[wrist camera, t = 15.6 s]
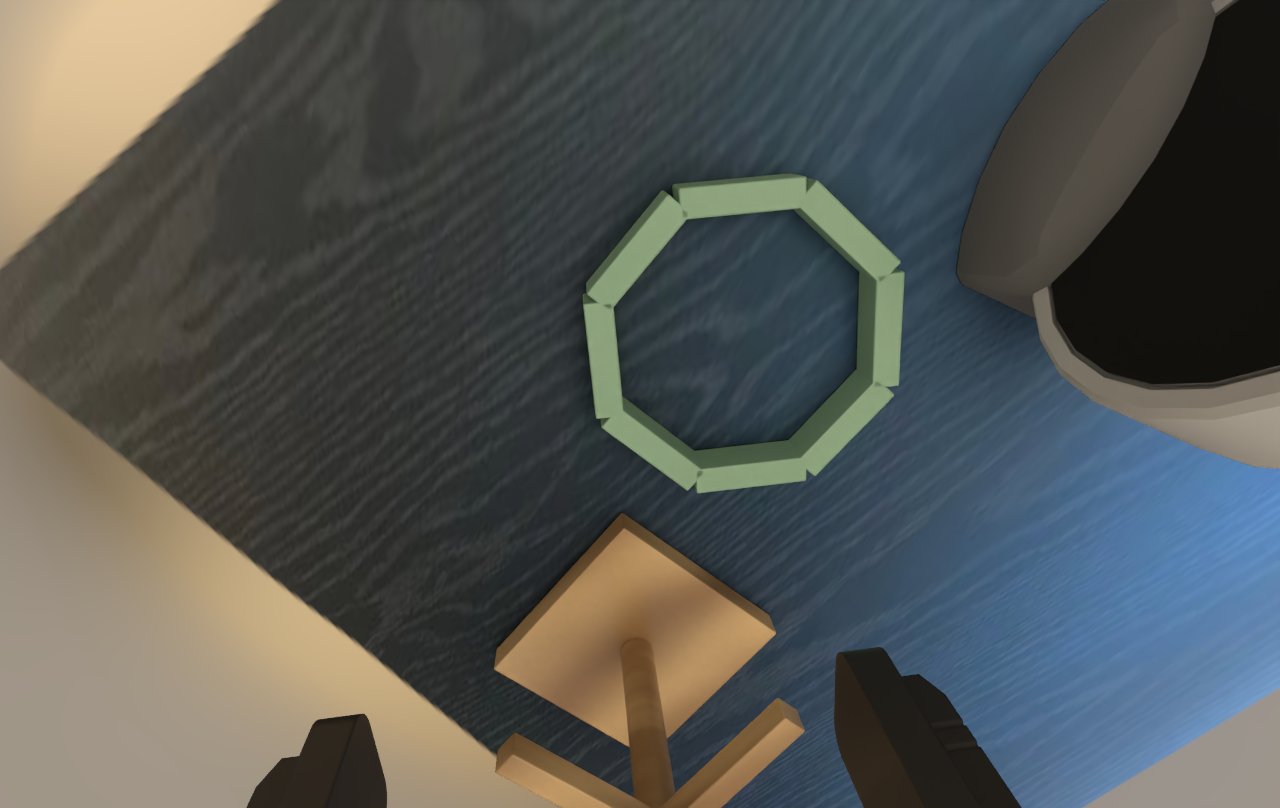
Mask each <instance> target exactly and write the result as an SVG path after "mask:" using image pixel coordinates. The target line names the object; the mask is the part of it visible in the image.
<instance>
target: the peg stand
mask: <svg viewBox="0 0 1280 808" xmlns="http://www.w3.org/2000/svg"><path fill="white" fill-rule="evenodd" d="M775 634H776V631H775V629H774V626H773V624H772V621H771V619H770V616H769V615H768V614H767V613H765V612H764V611H762V610H761V609H760V608H758V607H757V606H755V605H754V604H752V603H751V602H750V601H748V600H747V599H745V598H744V597H742V596H741V595H740V594H738V593H737V592H735V591H734V590H732V589H731V588H729V587H728V586H727V585H725V584H724V583H722V582H721V581H719V580H718V579H717V578H715V577H714V576H712V575H711V574H709V573H708V572H707V571H705V570H704V569H702V568H701V567H699V566H698V565H697V564H695V563H694V562H692V561H691V560H689V559H688V558H687V557H685V556H684V555H682V554H681V553H679V552H678V551H676V550H675V549H674V548H672V547H671V546H669V545H668V544H666V543H665V542H664V541H662V540H661V539H659V538H658V537H656V536H655V535H654V534H652V533H651V532H649V531H648V530H646V529H645V528H644V527H642V526H641V525H639V524H638V523H636V522H635V521H634V520H632V519H631V518H629V517H628V516H626V515H625V514H624V513H621V514H620V515H619V516H618V517H617V518H616V519H615V521H614V522H613V523H612V524H611V525H610V526H609V527H608V528H607V529H606V530H605V531H604V533H603V534H602V535H601V536H600V537H599V538H598V539H597V540H596V541H595V542H594V543H593V545H592V546H591V547H590V548H589V549H588V550H587V551H586V552H585V553H584V554H583V556H582V557H581V558H580V559H579V560H578V561H577V562H576V563H575V564H574V565H573V566H572V568H571V569H570V570H569V571H568V572H567V573H566V574H565V575H564V576H563V577H562V578H561V580H560V581H559V582H558V583H557V584H556V585H555V586H554V587H553V588H552V589H551V590H550V592H549V593H548V594H547V595H546V596H545V597H544V598H543V599H542V600H541V601H540V602H539V604H538V605H537V606H536V607H535V608H534V609H533V610H532V611H531V612H530V613H529V614H528V616H527V617H526V618H525V619H524V620H523V621H522V622H521V623H520V624H519V625H518V627H517V628H516V629H515V630H514V631H513V632H512V633H511V634H510V635H509V636H508V637H507V639H506V640H505V641H504V642H503V643H502V644H501V645H500V646H499V647H498V648H497V651H496V658H495V665H494V669H495V670H496V671H498V672H500V673H501V674H503V675H505V676H507V677H508V678H510V679H512V680H513V681H515V682H517V683H519V684H520V685H522V686H524V687H526V688H527V689H529V690H531V691H533V692H534V693H536V694H538V695H540V696H541V697H543V698H545V699H546V700H548V701H550V702H552V703H553V704H555V705H557V706H559V707H560V708H562V709H564V710H566V711H567V712H569V713H571V714H573V715H574V716H576V717H578V718H580V719H581V720H583V721H585V722H586V723H588V724H590V725H592V726H593V727H595V728H597V729H599V730H600V731H602V732H604V733H606V734H607V735H609V736H611V737H613V738H614V739H616V740H618V741H619V742H621V743H623V744H625V745H626V746H628V747H630V757H631V768H632V778H633V789H634V798H633V797H632V796H630V795H628V794H626V793H624V792H623V791H621V790H619V789H617V788H615V787H613V786H612V785H610V784H608V783H606V782H604V781H602V780H601V779H599V778H597V777H595V776H593V775H592V774H590V773H588V772H586V771H584V770H582V769H581V768H579V767H577V766H575V765H573V764H572V763H570V762H568V761H566V760H564V759H562V758H561V757H559V756H557V755H555V754H553V753H552V752H550V751H548V750H546V749H544V748H542V747H541V746H539V745H537V744H535V743H533V742H532V741H530V740H528V739H526V738H524V737H522V736H521V735H519V734H517V733H513V735H512V736H511V737H510V738H509V739H508V740H507V741H506V742H505V743H504V744H503V745H502V746H501V747H500V748H499V749H498V753H497V762H496V770H495V772H496V773H497V774H499V775H501V776H502V777H504V778H506V779H508V780H510V781H512V782H514V783H516V784H518V785H520V786H521V787H523V788H525V789H527V790H529V791H531V792H533V793H535V794H537V795H539V796H541V797H543V798H544V799H546V800H548V801H550V802H552V803H554V804H556V805H558V806H560V807H561V808H721V807H722V806H723V805H724V804H725V803H727V802H728V801H729V800H730V799H731V798H732V797H733V796H734V795H735V794H736V793H738V792H739V791H740V790H741V789H742V788H743V787H744V786H745V785H746V784H747V783H749V782H750V781H751V780H752V779H753V778H754V777H755V776H756V775H757V774H758V773H760V772H761V771H762V770H763V769H764V768H765V767H766V766H767V765H768V764H769V763H771V762H772V761H773V760H774V759H775V758H776V757H777V756H778V755H779V754H780V753H782V752H783V751H784V750H785V749H786V748H787V747H788V746H789V745H790V744H791V743H793V742H794V741H795V740H796V739H797V738H798V737H799V736H800V735H801V734H802V733H804V731H805V730H804V727H803V725H802V722H801V720H800V717H799V714H798V712H797V710H796V709H794V708H793V707H791V706H790V705H788V704H787V703H785V702H784V701H782V700H781V699H779V698H777V699H776V700H775V701H774V702H772V703H771V704H770V705H769V706H768V707H767V708H766V709H765V710H764V711H763V712H762V713H761V714H760V715H759V716H757V717H756V718H755V719H754V720H753V721H752V722H751V723H750V724H749V725H748V726H747V727H746V728H745V729H744V730H743V731H741V732H740V733H739V734H738V735H737V736H736V737H735V738H734V739H733V740H732V741H731V742H730V743H729V744H728V745H726V746H725V747H724V748H723V749H722V750H721V751H720V752H719V753H718V754H717V755H716V756H715V757H714V758H713V759H712V760H710V761H709V762H708V763H707V764H706V765H705V766H704V767H703V768H702V769H701V770H700V771H699V772H698V773H697V774H695V775H694V776H693V777H692V778H691V779H690V780H689V781H688V782H687V783H686V784H685V785H684V786H683V787H682V788H681V789H679V790H678V791H677V792H676V793H675V788H674V782H673V776H672V769H671V763H670V756H669V750H668V744H667V738H668V737H670V736H671V735H672V734H673V733H674V732H675V731H676V730H677V729H678V728H679V727H680V726H681V725H682V724H683V723H684V722H685V721H686V720H687V719H688V718H689V717H690V716H691V715H692V714H693V713H694V712H695V711H696V710H698V709H699V708H700V707H701V706H702V705H703V704H704V703H705V702H706V701H707V700H708V699H709V698H710V697H711V696H712V695H713V694H714V693H715V692H716V691H717V690H718V689H719V688H720V687H721V686H722V685H723V684H724V683H726V682H727V681H728V680H729V679H730V678H731V677H732V676H733V675H734V674H735V673H736V672H737V671H738V670H739V669H740V668H741V667H742V666H743V665H744V664H745V663H746V662H747V661H748V660H749V659H750V658H751V657H752V656H754V655H755V654H756V653H757V652H758V651H759V650H760V649H761V648H762V647H763V646H764V645H765V644H766V643H767V642H768V641H769V640H770V639H771V638H772V637H773V636H774V635H775Z"/></svg>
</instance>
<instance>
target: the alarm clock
mask: <svg viewBox="0 0 1280 808" xmlns="http://www.w3.org/2000/svg"><path fill="white" fill-rule="evenodd" d="M956 273H957V275H958V277H959V279H960V281H961V284H962V285H964V286H966V287H969V288H971V289H973V290H975V291H977V292H979V293H981V294H984V295H986V296H988V297H990V298H992V299H994V300H997V301H999V302H1001V303H1003V304H1005V305H1007V306H1009V307H1012V308H1014V309H1016V310H1018V311H1020V312H1022V313H1025V314H1027V315H1029V316H1031V317H1033V318H1035V319H1036V321H1037V326H1038V331H1039V336H1040V340H1041V342H1042V344H1043V346H1044V347H1045V349H1046V351H1047V353H1048V354H1049V356H1050V358H1051V360H1052V361H1053V363H1054V365H1055V367H1056V368H1057V370H1058V372H1059V374H1060V375H1061V376H1062V377H1064V378H1065V379H1066V380H1067V381H1069V382H1070V383H1071V384H1072V385H1074V386H1075V387H1076V388H1078V389H1079V390H1080V391H1081V392H1083V393H1084V394H1085V395H1086V396H1088V397H1089V398H1090V399H1091V400H1093V401H1094V402H1096V403H1098V404H1100V405H1102V406H1105V407H1107V408H1109V409H1111V410H1114V411H1116V412H1118V413H1120V414H1123V415H1125V416H1127V417H1129V418H1132V419H1134V420H1136V421H1139V422H1141V423H1143V424H1145V425H1148V426H1150V427H1152V428H1154V429H1157V430H1159V431H1161V432H1163V433H1166V434H1168V435H1170V436H1172V437H1175V438H1177V439H1179V440H1181V441H1184V442H1186V443H1188V444H1190V445H1193V446H1195V447H1198V448H1200V449H1203V450H1206V451H1209V452H1212V453H1215V454H1218V455H1221V456H1224V457H1227V458H1230V459H1233V460H1236V461H1239V462H1241V463H1244V464H1247V465H1250V466H1253V467H1263V468H1276V469H1280V0H1214V1H1212V0H1108V1H1107V2H1106V3H1105V4H1103V5H1102V6H1101V7H1100V8H1099V9H1098V10H1097V11H1096V12H1094V13H1093V14H1092V15H1091V16H1090V17H1089V18H1088V19H1086V20H1085V21H1084V22H1083V23H1082V24H1081V25H1080V26H1079V27H1078V28H1077V29H1076V31H1075V32H1074V33H1073V34H1072V35H1071V37H1070V38H1069V39H1068V40H1067V41H1066V42H1065V44H1064V45H1063V46H1062V47H1061V48H1060V50H1059V51H1058V52H1057V53H1056V54H1055V55H1054V57H1053V58H1052V59H1051V60H1050V61H1049V63H1048V64H1047V65H1046V66H1045V67H1044V68H1043V70H1042V71H1041V72H1040V73H1039V75H1038V76H1037V78H1036V79H1035V81H1034V82H1033V84H1032V85H1031V87H1030V88H1029V90H1028V91H1027V93H1026V95H1025V96H1024V98H1023V99H1022V101H1021V102H1020V104H1019V105H1018V107H1017V108H1016V110H1015V111H1014V113H1013V114H1012V116H1011V117H1010V119H1009V120H1008V122H1007V123H1006V125H1005V127H1004V128H1003V131H1002V133H1001V135H1000V137H999V139H998V141H997V144H996V146H995V148H994V150H993V152H992V154H991V157H990V159H989V161H988V163H987V165H986V167H985V169H984V172H983V174H982V176H981V178H980V180H979V182H978V186H977V189H976V192H975V195H974V198H973V201H972V204H971V208H970V211H969V214H968V217H967V220H966V223H965V227H964V230H963V233H962V237H961V244H960V251H959V258H958V265H957V271H956Z"/></svg>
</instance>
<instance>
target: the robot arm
mask: <svg viewBox="0 0 1280 808" xmlns="http://www.w3.org/2000/svg"><path fill="white" fill-rule="evenodd" d="M834 725H835V733H836V738H837V743H838V747H839V750H840V753H841V756H842V759H843V761H844V764H845V766H846V768H847V770H848V773H849V775H850V777H851V779H852V782H853V784H854V786H855V788H856V791H857V793H858V795H859V798H860V800H861V802H862V804H863V807H864V808H1021V806H1020V805H1019V803H1018V802H1017V800H1016V799H1015V797H1014V796H1013V794H1012V793H1011V791H1010V790H1009V788H1008V787H1007V785H1006V784H1005V782H1004V781H1003V779H1002V778H1001V777H1000V775H999V774H998V772H997V771H996V769H995V768H994V766H993V765H992V763H991V762H990V760H989V759H988V757H987V756H986V754H985V753H984V751H983V750H982V748H981V747H978V745H977V741H976V739H975V738H974V736H973V735H972V733H971V732H970V731H969V729H968V728H967V726H966V725H965V726H964V724H963V720H962V719H961V717H960V716H959V714H958V713H957V711H956V710H955V708H954V707H953V705H952V704H951V702H950V701H949V699H948V698H947V696H946V695H945V694H944V693H943V692H941V691H940V690H939V689H937V688H936V687H935V686H933V685H932V684H931V683H929V682H928V681H927V680H926V679H924V678H923V677H922V676H920V675H919V674H916V675H909V676H902V677H901V675H900V674H899V672H898V670H897V669H896V667H895V665H894V664H893V662H892V661H891V659H890V657H889V656H888V654H887V653H886V651H885V650H884V649H883V648H881V647H876V648H869V649H861V650H853V651H846V652H839V653H838V654H837V656H836V668H835V707H834ZM386 807H387V790H386V782H385V778H384V774H383V770H382V766H381V763H380V759H379V756H378V752H377V748H376V745H375V741H374V738H373V734H372V730H371V726H370V723H369V720H368V718H367V716H366V715H365V714H357V715H350V716H342V717H334V718H327V719H320V720H317V721H316V722H315V723H314V724H313V725H312V728H311V730H310V732H309V734H308V737H307V739H306V741H305V744H304V746H303V749H302V751H301V753H300V756H297V757H289V758H282V759H281V760H280V761H279V762H278V763H277V765H276V766H275V767H274V768H273V769H272V770H271V771H270V772H269V773H268V774H267V776H266V777H265V778H264V779H263V780H262V781H261V782H260V784H259V785H258V786H257V787H256V788H255V791H254V793H253V795H252V797H251V799H250V801H249V803H248V806H247V808H386Z"/></svg>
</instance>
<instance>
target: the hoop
mask: <svg viewBox="0 0 1280 808" xmlns="http://www.w3.org/2000/svg"><path fill="white" fill-rule="evenodd" d="M672 192H673V197H671V196H670V195H669V194H668V193H666V192H665V191H663V190H662V191H661V192H660V193H659V194H658V195H657V197H656V198H655V199H654V200H653V202H652V203H651V204H650V205H649V207H648V208H647V209H646V210H645V211H644V213H643V214H642V215H641V216H640V218H639V219H638V220H637V221H636V222H635V224H634V225H633V226H632V227H631V229H630V230H629V231H628V232H627V233H626V235H625V236H624V237H623V238H622V240H621V241H620V242H619V243H618V244H617V246H616V247H615V248H614V249H613V251H612V252H611V253H610V254H609V256H608V257H607V258H606V259H605V260H604V262H603V263H602V264H601V265H600V267H599V268H598V269H597V270H596V271H595V273H594V274H593V275H592V276H591V278H590V279H589V280H588V281H587V282H586V290H587V293H585V294H583V308H584V317H585V326H586V335H587V344H588V352H589V361H590V370H591V379H592V388H593V397H594V406H595V414H596V418H597V419H601V427H602V428H603V429H604V430H605V431H607V432H608V433H609V434H611V435H612V436H613V437H615V438H616V439H618V440H619V441H620V442H622V443H623V444H624V445H626V446H627V447H628V448H630V449H631V450H633V451H634V452H635V453H637V454H638V455H639V456H641V457H642V458H643V459H645V460H646V461H648V462H649V463H650V464H652V465H653V466H654V467H656V468H657V469H658V470H660V471H661V472H663V473H664V474H665V475H667V476H668V477H669V478H671V479H672V480H673V481H675V482H676V483H678V484H679V485H680V486H682V487H683V488H684V489H686V490H689V489H690V488H691V487H692V486H693V485H694V486H695V489H696V492H697V493H704V492H713V491H721V490H730V489H739V488H747V487H756V486H764V485H773V484H782V483H790V482H799V481H806V470H808V471H809V472H810V473H811V474H813V475H814V476H816V475H817V474H818V473H819V472H820V471H821V470H822V469H823V468H824V467H825V466H826V465H827V464H828V462H829V461H830V460H831V459H832V458H833V457H834V456H835V455H836V454H837V453H838V452H839V451H840V450H841V449H842V448H843V447H844V446H845V445H846V444H847V443H848V442H849V441H850V440H851V439H852V438H853V437H854V436H855V435H856V434H857V433H858V432H859V431H860V430H861V429H862V428H863V427H864V426H865V425H866V424H867V423H868V422H869V421H870V420H871V419H872V418H873V417H874V416H875V415H876V414H877V413H878V412H879V411H880V410H881V409H882V408H883V406H884V405H885V404H886V403H887V402H888V401H889V400H890V399H891V398H892V397H893V396H894V394H893V393H892V392H891V391H890V390H889V389H888V388H887V387H891V386H898V385H899V371H900V351H901V332H902V313H903V293H904V274H905V273H904V272H903V271H901V270H899V269H896V267H897V266H898V265H899V264H900V263H901V262H900V260H899V259H898V258H897V257H896V256H895V255H894V254H893V253H892V252H891V251H890V250H889V249H888V248H886V247H885V246H884V245H883V244H882V243H881V242H880V241H879V240H878V239H877V238H876V237H875V236H874V235H873V234H872V233H871V232H870V231H869V230H868V229H867V228H866V227H865V226H864V225H863V224H862V223H861V222H860V221H859V220H858V219H857V218H856V217H855V216H854V215H853V214H852V213H851V212H850V211H849V210H847V209H846V208H845V207H844V206H843V205H842V204H841V203H840V202H839V201H838V200H837V199H836V198H835V197H834V196H833V195H832V194H831V193H830V192H829V191H828V190H827V189H826V188H825V187H824V186H823V185H822V184H821V183H820V182H819V181H817V180H813V179H809V178H806V177H805V176H801V175H797V174H792V173H788V174H777V175H766V176H755V177H745V178H734V179H723V180H713V181H702V182H691V183H680V184H673V185H672ZM790 209H793V210H794V211H795V212H796V213H797V214H798V215H799V216H800V217H801V218H803V219H804V220H805V221H806V222H807V223H808V224H809V225H810V226H811V227H812V228H813V229H814V230H815V231H816V232H817V233H818V234H819V235H821V236H822V237H823V238H824V239H825V240H826V241H827V242H828V243H829V244H830V245H831V246H832V247H833V248H834V249H835V250H836V251H838V252H839V253H840V254H841V255H842V256H843V257H844V258H845V259H846V260H847V261H848V262H849V263H850V264H851V265H852V266H853V267H854V268H856V269H857V270H858V271H859V299H858V333H857V368H856V370H855V371H854V372H853V373H852V374H851V375H850V376H849V377H848V378H847V379H846V380H845V381H844V383H843V384H842V385H841V386H840V387H839V388H838V389H837V390H836V391H835V392H834V393H833V394H832V395H831V396H830V397H829V398H828V399H827V400H826V401H825V402H824V403H823V404H822V406H821V407H820V408H819V409H818V410H817V411H816V412H815V413H814V414H813V415H812V416H811V417H810V418H809V419H808V420H807V421H806V422H805V423H804V424H803V425H802V426H801V428H800V429H799V430H798V431H797V432H796V433H795V434H794V435H793V436H792V437H791V438H790V439H789V440H785V441H776V442H767V443H758V444H749V445H741V446H732V447H723V448H714V449H705V450H696V451H694V450H693V449H691V448H690V447H689V446H687V445H686V444H685V443H683V442H682V441H681V440H679V439H678V438H677V437H675V436H674V435H673V434H671V433H670V432H669V431H668V430H666V429H665V428H664V427H662V426H661V425H660V424H658V423H657V422H656V421H654V420H653V419H652V418H650V417H649V416H648V415H646V414H645V413H644V412H642V411H641V410H640V409H639V408H637V407H636V406H635V405H633V404H632V403H631V402H629V401H628V400H627V399H625V398H624V397H623V396H622V389H621V379H620V369H619V358H618V348H617V338H616V328H615V317H614V306H615V305H616V304H617V303H618V301H619V300H620V299H621V298H622V297H623V295H624V294H625V293H626V292H627V291H628V289H629V288H630V287H631V286H632V285H633V283H634V282H635V281H636V280H637V279H638V277H639V276H640V275H641V274H642V273H643V271H644V270H645V269H646V268H647V267H648V265H649V264H650V263H651V262H652V261H653V259H654V258H655V257H656V256H657V255H658V253H659V252H660V251H661V250H662V249H663V248H664V246H665V245H666V244H667V243H668V242H669V240H670V239H671V238H672V237H673V236H674V234H675V233H676V232H677V231H678V230H679V228H680V227H681V226H682V225H683V224H684V222H685V221H686V220H687V219H697V218H707V217H718V216H728V215H738V214H749V213H759V212H770V211H780V210H790Z"/></svg>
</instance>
